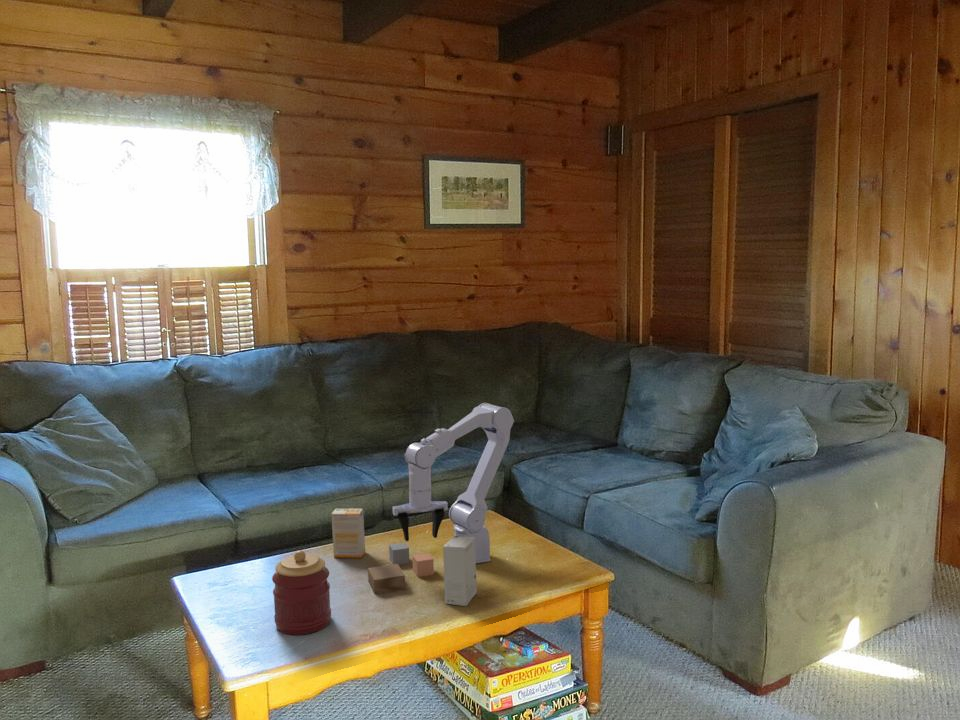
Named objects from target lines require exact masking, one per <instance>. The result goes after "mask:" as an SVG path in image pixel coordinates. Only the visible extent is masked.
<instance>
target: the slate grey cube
mask: <svg viewBox="0 0 960 720" xmlns="http://www.w3.org/2000/svg"><path fill="white" fill-rule="evenodd" d="M388 549H389V550H388V552H389V561H390V563H391V562H392V563H391V565H392V564H398V565H399V564H402V565H406V564H405V563H408V564H410V548H409V546H408V544H407V543H406V541H405V542H397V543H392V544H389V545H388ZM399 566H400V565H399Z"/></svg>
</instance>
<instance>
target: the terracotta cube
mask: <svg viewBox="0 0 960 720" xmlns="http://www.w3.org/2000/svg"><path fill="white" fill-rule="evenodd" d="M434 570H435V569H434V558H433V557H432V555H431V554H430V553H429V552H426V553H420V554H414V555H413V554H412V572H413V573H414V574H416V575H415V576H416V577H417V578H423V577H428V575H430V576H433V575H435V574H434V573H435V571H434ZM422 576H423V577H422Z"/></svg>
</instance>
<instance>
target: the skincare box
mask: <svg viewBox="0 0 960 720" xmlns="http://www.w3.org/2000/svg"><path fill="white" fill-rule="evenodd" d="M442 553H443V554H442V555H443V560H442V561H443V581H444V583H443V584H444V586H443V587H444V603H445V604H447V605H456V606H460V607H467V606H468V604H469V603H470V602H471V600H472V599H473V598H474V597H475V596H476V594H477V591H478V590H477V588H478V587H477V570H476V569H477V567H476V564H477V563H476V561H475V538H474V537H461V536H452V538H451V539H449V540H448V541H447V542H446V543H445V544H444V546H442Z"/></svg>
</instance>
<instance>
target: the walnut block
mask: <svg viewBox="0 0 960 720" xmlns="http://www.w3.org/2000/svg"><path fill="white" fill-rule="evenodd" d="M367 581H368V584H369V586H370V588H371V590H372V592H373V594H374V595H375V594H376V595H377V594H383V593H389V592H390V593H391V592H395V591H402V590H406V575H405V573H404V572H403V570H402V569H401V567H400V565H398V564H392V563H391V564H386V565H380V566H373V567H367Z"/></svg>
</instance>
